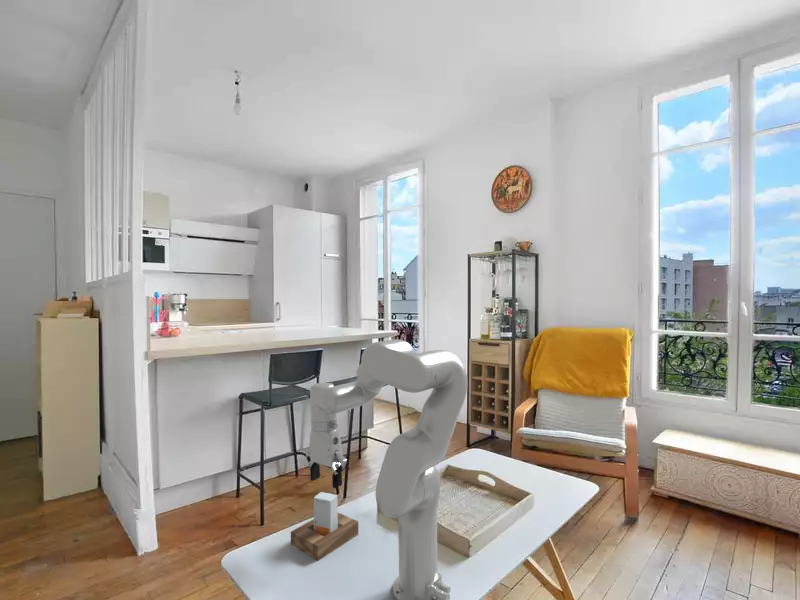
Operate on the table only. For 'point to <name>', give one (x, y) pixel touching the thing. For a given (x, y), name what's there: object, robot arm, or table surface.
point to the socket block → (323, 537)
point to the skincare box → (325, 513)
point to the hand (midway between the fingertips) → (326, 482)
